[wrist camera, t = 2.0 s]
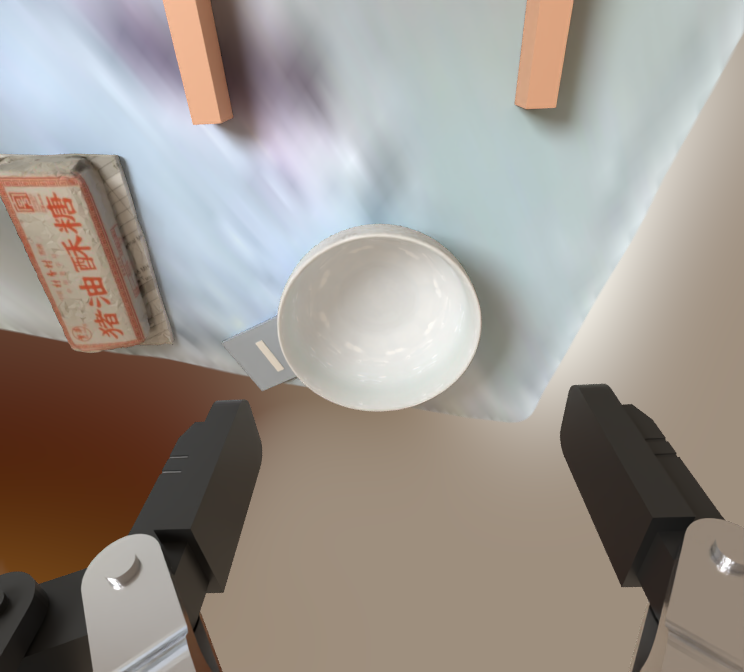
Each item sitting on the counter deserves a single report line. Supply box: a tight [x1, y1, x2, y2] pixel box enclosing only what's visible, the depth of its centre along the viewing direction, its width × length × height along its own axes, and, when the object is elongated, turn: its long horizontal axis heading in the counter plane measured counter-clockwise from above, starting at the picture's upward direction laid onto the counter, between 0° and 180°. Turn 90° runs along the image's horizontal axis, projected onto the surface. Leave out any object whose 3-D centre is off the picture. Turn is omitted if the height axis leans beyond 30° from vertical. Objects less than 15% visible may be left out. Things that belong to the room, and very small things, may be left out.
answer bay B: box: [163, 0, 574, 125], centre depth 28 cm, size 12×25×3 cm, turn 93°
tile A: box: [221, 315, 297, 391], centre depth 45 cm, size 7×7×1 cm
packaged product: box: [0, 154, 174, 353], centre depth 38 cm, size 18×5×10 cm
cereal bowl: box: [277, 224, 482, 411], centre depth 38 cm, size 17×17×7 cm
